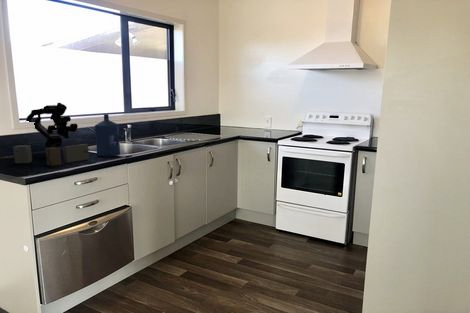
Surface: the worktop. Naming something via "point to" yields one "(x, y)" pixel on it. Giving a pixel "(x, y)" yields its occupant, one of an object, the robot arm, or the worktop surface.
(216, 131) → the worktop surface
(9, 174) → the worktop surface
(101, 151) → the water jug
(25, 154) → the small box
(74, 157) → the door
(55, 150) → the oak post
